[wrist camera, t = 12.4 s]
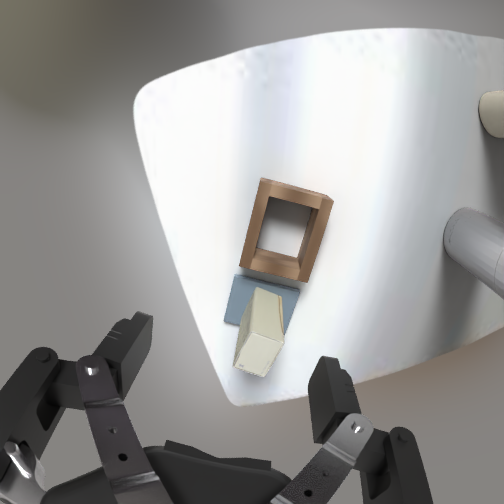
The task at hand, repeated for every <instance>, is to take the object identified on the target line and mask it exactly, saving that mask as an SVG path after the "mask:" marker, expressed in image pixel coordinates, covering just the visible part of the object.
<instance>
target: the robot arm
mask: <svg viewBox="0 0 504 504" xmlns="http://www.w3.org/2000/svg"><path fill="white" fill-rule="evenodd" d="M444 246H445V250H446V252H447V254H448V255H449V256H450V257H451V258H452V259H453V260H455V261H456V262H457V263H459V264H460V265H461V266H463V267H464V268H465V269H466V270H468V271H469V272H470V273H472V274H473V275H474V276H475V277H477V278H478V279H479V280H480V281H482V282H483V283H484V284H485V285H487V286H488V287H489V288H490V289H492V290H493V291H494V292H495V293H496V294H498V295H499V296H500V297H501V298H502V299H504V222H501V221H499V220H497V219H495V218H492V217H490V216H488V215H486V214H484V213H481V212H479V211H476V210H474V209H472V208H463V209H460V210H458V211H457V212H455V213H454V214H453V216H452V217H451V218H450V220H449V221H448V223H447V226H446V228H445V232H444ZM152 327H153V316H151V315H148V314H145V313H142V312H136V313H135V315H134V316H133V318H132V319H131V320H129V319H122V320H120V321H119V322H117V323H116V324H115V325H114V326H113V328H112V329H111V331H109V333H108V334H107V336H106V337H105V338H104V339H103V341H102V342H101V344H100V345H99V346H98V347H97V349H96V350H95V351H94V353H93V354H92V355H86V356H83V357H81V358H80V359H79V360H78V361H76V362H74V361H67V360H60V359H58V355H57V353H56V352H55V351H54V350H52V349H51V348H47V347H39V348H36V349H34V350H32V351H31V352H30V353H29V355H28V356H27V357H26V358H25V359H24V361H23V362H22V363H21V364H20V366H19V367H18V368H17V369H16V371H15V372H14V374H13V375H12V376H11V377H10V379H9V380H8V381H7V382H6V384H5V385H4V386H3V388H2V389H1V390H0V500H1V501H2V502H3V503H6V504H327V503H328V502H329V500H330V499H331V497H332V496H333V495H334V494H335V492H336V491H337V490H338V488H339V487H340V485H341V484H342V483H343V481H344V480H345V478H346V477H347V476H348V474H349V473H350V471H351V470H352V469H356V470H359V471H360V478H361V486H362V495H363V504H433V501H432V497H431V492H430V488H429V484H428V481H427V477H426V473H425V470H424V466H423V463H422V459H421V456H420V453H419V449H418V446H417V443H416V440H415V437H414V435H413V433H412V432H411V431H409V430H408V429H406V428H403V427H395V428H393V429H392V430H391V431H390V432H389V433H388V432H385V431H381V430H378V429H375V428H373V424H372V422H371V421H370V420H369V419H368V418H367V417H365V416H363V415H362V414H361V410H360V407H359V403H358V400H357V396H356V393H355V389H354V387H353V382H352V379H351V377H350V375H349V374H348V373H347V372H346V370H343V369H341V368H340V365H339V361H338V359H337V358H332V357H326V356H322V357H321V358H320V359H319V361H318V363H317V366H316V368H315V370H314V372H313V374H312V376H311V378H310V380H309V384H308V395H309V403H310V412H311V421H312V430H313V439H314V443H320V444H323V446H322V448H321V449H320V450H319V451H318V452H317V453H316V454H315V456H314V457H313V458H312V459H311V460H310V462H309V463H307V465H306V466H305V467H304V468H303V469H302V470H301V471H300V472H299V473H298V475H296V476H295V478H294V479H293V480H291V479H290V478H289V477H288V476H286V475H285V474H283V473H281V472H280V471H277V470H275V469H273V468H271V461H266V460H259V459H252V458H216V457H214V456H211V455H209V454H207V453H205V452H202V451H200V450H198V449H196V448H194V447H191V446H188V445H184V444H180V443H176V442H173V441H169V440H166V443H165V446H149V447H144V448H142V446H141V443H140V441H139V439H138V437H137V435H136V432H135V430H134V427H133V425H132V423H131V420H130V418H129V415H128V413H127V410H126V408H125V405H124V403H123V401H124V399H125V397H126V395H127V393H128V391H129V389H130V387H131V385H132V383H133V381H134V380H135V378H136V376H137V374H138V372H139V370H140V368H141V366H142V364H143V362H144V360H145V358H146V357H147V355H148V353H149V350H150V347H151V340H152ZM66 408H73V409H79V410H85V413H86V416H87V420H88V424H89V427H90V430H91V434H92V437H93V440H94V444H95V447H96V450H97V453H98V455H99V459H100V461H101V464H102V467H100V468H97V469H96V470H93V471H91V472H88V473H86V474H84V475H81V476H79V477H77V478H75V479H72V480H70V481H67V482H65V483H62V484H59V485H57V486H54V487H52V488H51V489H49V490H48V491H47V492H46V491H45V489H44V479H45V471H44V468H43V466H42V465H41V463H40V462H39V460H40V457H41V455H42V453H43V451H44V449H45V447H46V445H47V443H48V441H49V439H50V437H51V436H52V433H53V432H54V430H55V428H56V426H57V424H58V422H59V420H60V418H61V417H62V415H63V413H64V411H65V409H66Z"/></svg>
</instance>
